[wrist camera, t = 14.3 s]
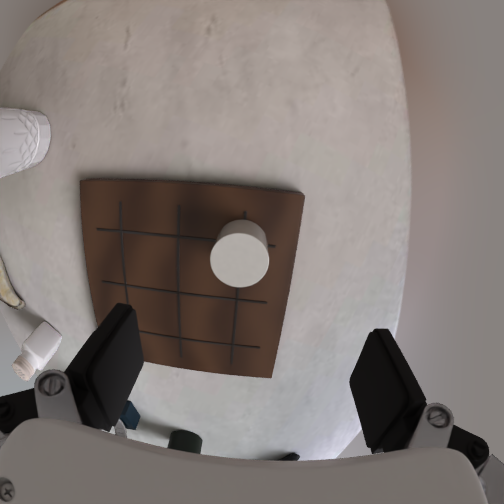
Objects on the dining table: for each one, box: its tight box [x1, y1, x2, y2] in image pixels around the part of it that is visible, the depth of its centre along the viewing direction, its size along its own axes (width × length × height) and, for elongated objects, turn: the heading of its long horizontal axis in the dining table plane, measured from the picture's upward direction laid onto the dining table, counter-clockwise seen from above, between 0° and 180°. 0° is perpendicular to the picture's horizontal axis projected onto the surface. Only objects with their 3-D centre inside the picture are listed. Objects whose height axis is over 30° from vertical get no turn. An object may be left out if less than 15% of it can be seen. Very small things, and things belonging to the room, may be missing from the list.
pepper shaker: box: [12, 321, 62, 381], centre depth 29 cm, size 4×4×10 cm
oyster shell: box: [0, 257, 25, 310], centre depth 28 cm, size 6×4×10 cm
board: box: [80, 178, 305, 378], centre depth 28 cm, size 22×22×2 cm
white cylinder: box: [210, 220, 269, 287], centre depth 24 cm, size 5×5×4 cm
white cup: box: [0, 107, 51, 178], centre depth 18 cm, size 8×8×10 cm
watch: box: [99, 401, 140, 438], centre depth 33 cm, size 6×8×11 cm
